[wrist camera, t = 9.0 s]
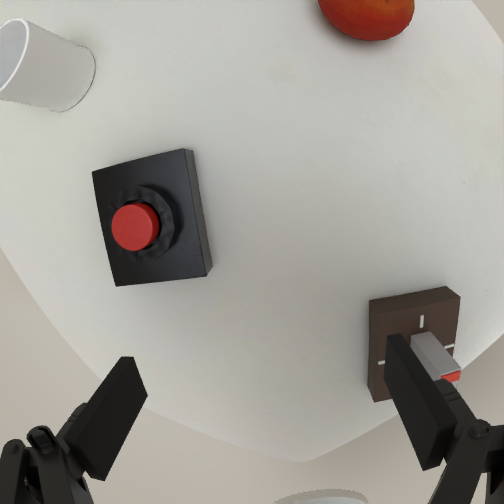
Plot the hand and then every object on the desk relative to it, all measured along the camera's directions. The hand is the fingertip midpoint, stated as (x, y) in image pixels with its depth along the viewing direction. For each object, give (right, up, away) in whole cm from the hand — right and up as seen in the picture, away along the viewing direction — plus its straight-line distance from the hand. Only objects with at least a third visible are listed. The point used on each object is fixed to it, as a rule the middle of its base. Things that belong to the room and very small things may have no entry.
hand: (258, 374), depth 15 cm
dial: (+18, -5, +15) cm, 24 cm away
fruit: (+11, +31, +10) cm, 34 cm away
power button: (-10, +8, +12) cm, 18 cm away
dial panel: (+18, -4, +19) cm, 26 cm away
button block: (-10, +10, +17) cm, 22 cm away
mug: (-24, +26, +14) cm, 38 cm away
